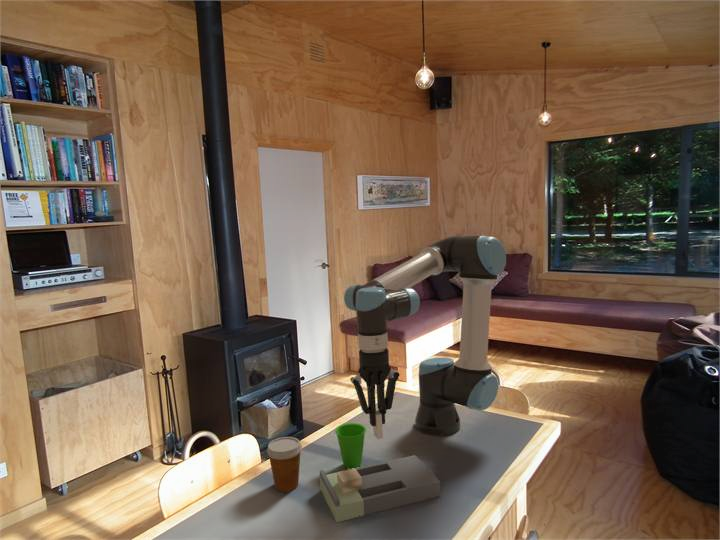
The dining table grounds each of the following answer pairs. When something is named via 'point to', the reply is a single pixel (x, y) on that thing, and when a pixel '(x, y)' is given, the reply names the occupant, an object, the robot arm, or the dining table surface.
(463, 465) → the dining table surface
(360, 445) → the cup
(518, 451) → the dining table surface
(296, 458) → the disposable coffee cup
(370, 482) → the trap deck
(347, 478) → the block
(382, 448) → the dining table surface
